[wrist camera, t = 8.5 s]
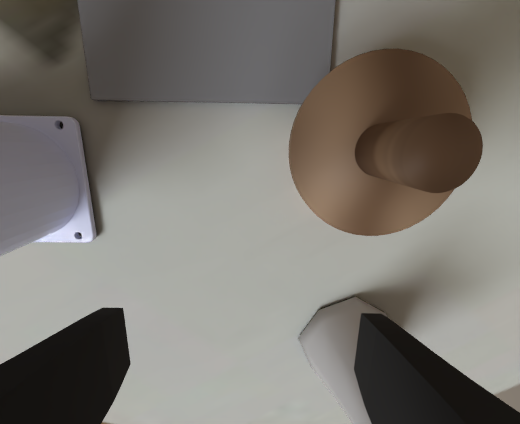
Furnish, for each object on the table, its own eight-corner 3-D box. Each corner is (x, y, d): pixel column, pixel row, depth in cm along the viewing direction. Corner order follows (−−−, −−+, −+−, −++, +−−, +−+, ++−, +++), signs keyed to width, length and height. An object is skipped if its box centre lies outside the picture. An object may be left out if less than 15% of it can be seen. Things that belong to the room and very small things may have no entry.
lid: (292, 236, 15) (310, 285, 10) (284, 61, 13) (302, 7, 8) (449, 224, 15) (550, 268, 10) (471, 47, 13) (618, -19, 7)
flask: (281, 334, 20) (302, 508, 11) (356, 279, 19) (457, 417, 9) (336, 389, 22) (400, 587, 12) (410, 341, 21) (545, 516, 11)
